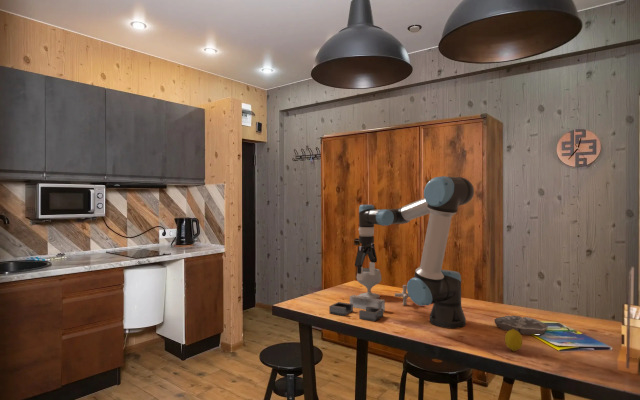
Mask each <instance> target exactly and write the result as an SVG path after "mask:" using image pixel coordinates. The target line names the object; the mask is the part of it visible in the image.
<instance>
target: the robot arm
mask: <svg viewBox="0 0 640 400" xmlns="http://www.w3.org/2000/svg"><path fill="white" fill-rule="evenodd" d="M423 189H424V190H423V198H421V199H420V198H419V200H416V201H415V200H414V201H413V202H410V203H408V204H405V205H403V206H401V207H399V208H386V209H385V208H384V209H379V208H378V209H377V208H376V209H375V206H374V205H373V204H360V205H359V208H358V243H360V244H361V245H359V246H358V247H357V253H356V259H355V263H354V267H356V269H357V271H356V280H363V268H364V267H363V264H364V261H365V258H366V256H367V257H368V259H369V265H368V268H369V275H375V269H376V263H377V262H378V258H377V257H378V256H377V252H376V248H375V243H374V242H375V236H374V235H375V225H376V226H377V225H379V226H383V227H384V226H390V225H404V224H408V223H410V222H411V221H413V220H414V219H417V218H420V217H422V216H426V215H428V216H429V217H428V222H427V226H426V231H425V232H426V233H425V237H424V244H423V249H422V254H421V260H420V265H419V266H418V267H417V268H416V269H415V272H414V275H413V276H414V277H411V278H410V279H409V280H408V281H407V283H406V293H408V295H409V296H410V297H409V298H410V300H411V301H412V302H413V303H414V304H415V305H417V306H420V307H423V306H430V305H432V304H433V305H432V308H431V311H430V314H429V323H431V324H432V326H433V325H434V326H436V327H440V328H447V329H458V328H463V327H465V326H466V325H467V324H466V322H467V319H466V315H465V313H464V310H463V307H462V276H461V273H460V272H459V271H455V270H449V269H443V263H444V259H445V253H446V250H447V249H446V248H447V245H448V244H447V242H448V239H449V233H450V229H451V224H452V220H453V219H452V218H453V216H454V215H456V214H457V213H458V210H459V209H458V208H459V207H460V206H464V205H466V204H469V202H471V201H472V199H473V197H474V196H475V195H474V194H475V188H474V185H473V184H472V182H471V181H470V180H468V179H467V178H465V177H461V176H457V177H456V176H446V175H445V176H443V175H442V176H435V177H433V178H431V179H430V180H428V182H427V183H426V185H425V186H424V188H423Z"/></svg>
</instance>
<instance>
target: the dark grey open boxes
mask: <svg viewBox="0 0 640 400" xmlns="http://www.w3.org/2000/svg"><path fill="white" fill-rule="evenodd" d="M353 311H354V307H353V304H350V302H349V303H348V302H341V301H338V302H335V303H333V304H331V305H329V314H331V315H334V316H341V317H342V316H343V317H345V316H347V315H349V314H350V313H352V312H353ZM358 315H359V316H358V317H359V318H358V319H360V320H366V321H370V322H377V321H379V320H380V319H382V318H383V317H384V311H383V309H382V308H375V307H369V306H367V307H366V310H365V309H360V310H359V311H358Z"/></svg>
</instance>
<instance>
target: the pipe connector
mask: <svg viewBox="0 0 640 400" xmlns="http://www.w3.org/2000/svg"><path fill="white" fill-rule="evenodd" d="M394 297H395V298H399V297H400V298H402V305H403V306H407V305H408V303H407V301H408V298H410V296H409V295H408V292H407V284H403V285H402V291H401V293H400V292H398V293H397V292H395V293H394Z"/></svg>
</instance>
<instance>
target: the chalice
mask: <svg viewBox="0 0 640 400" xmlns="http://www.w3.org/2000/svg"><path fill="white" fill-rule="evenodd" d="M356 280H357V279H356ZM381 281H382V273H381V270H380V269H378V268H375V275H369V267H366V268H365V267H363V280H357V282H358V283H359V284H361V285H363V286H364V287H365V288H366V289H367V291H366V292H363V293H360V294H358V295H357V296H363V297H369V298H376V299H379V298H380V297H381V296H380V294H379V293H375V292H372V288H374V286H377V285H378V284H380V283H381Z"/></svg>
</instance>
